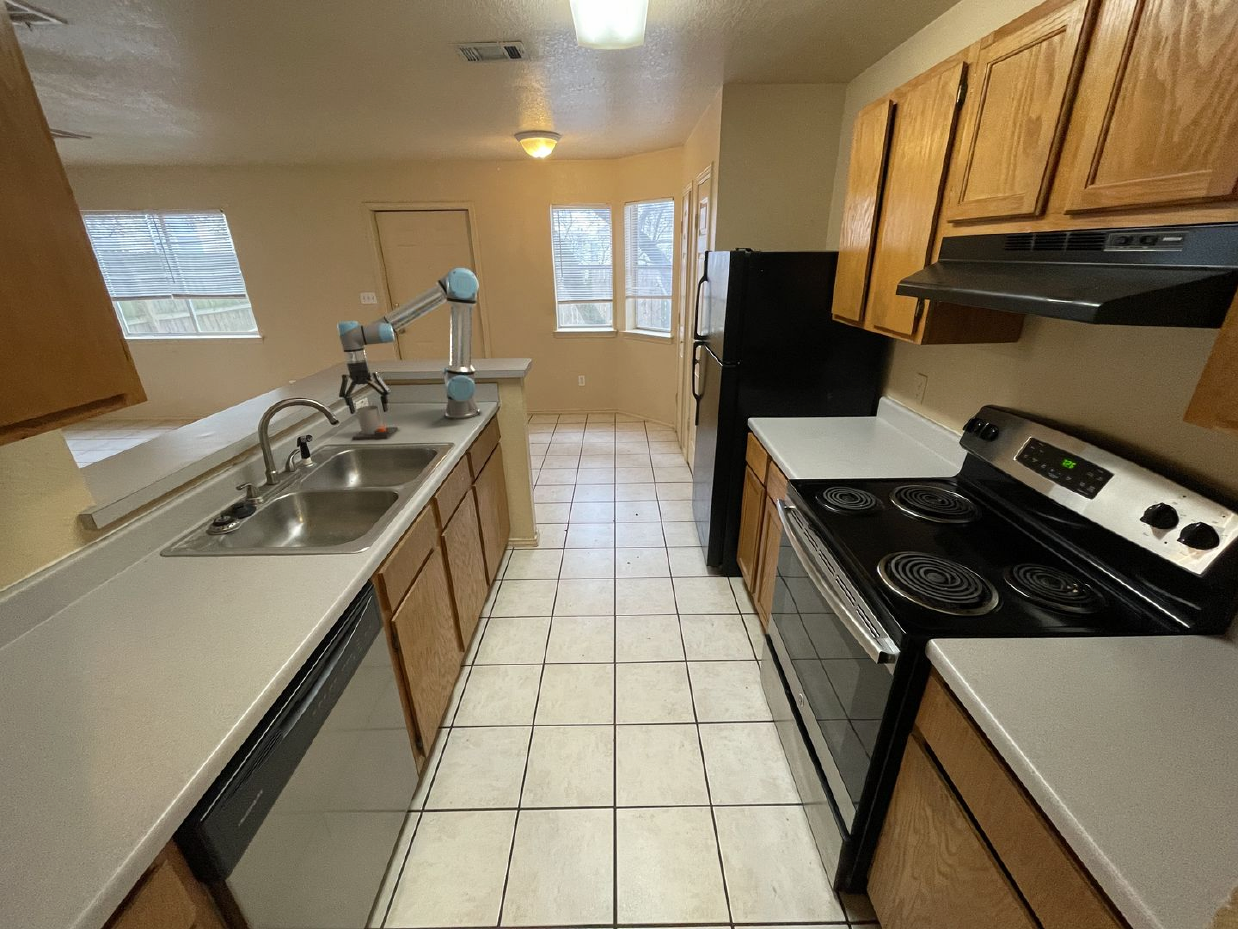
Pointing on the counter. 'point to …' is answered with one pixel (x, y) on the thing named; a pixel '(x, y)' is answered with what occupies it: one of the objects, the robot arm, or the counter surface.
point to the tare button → (381, 429)
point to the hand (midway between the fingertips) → (369, 412)
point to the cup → (369, 419)
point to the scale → (376, 434)
